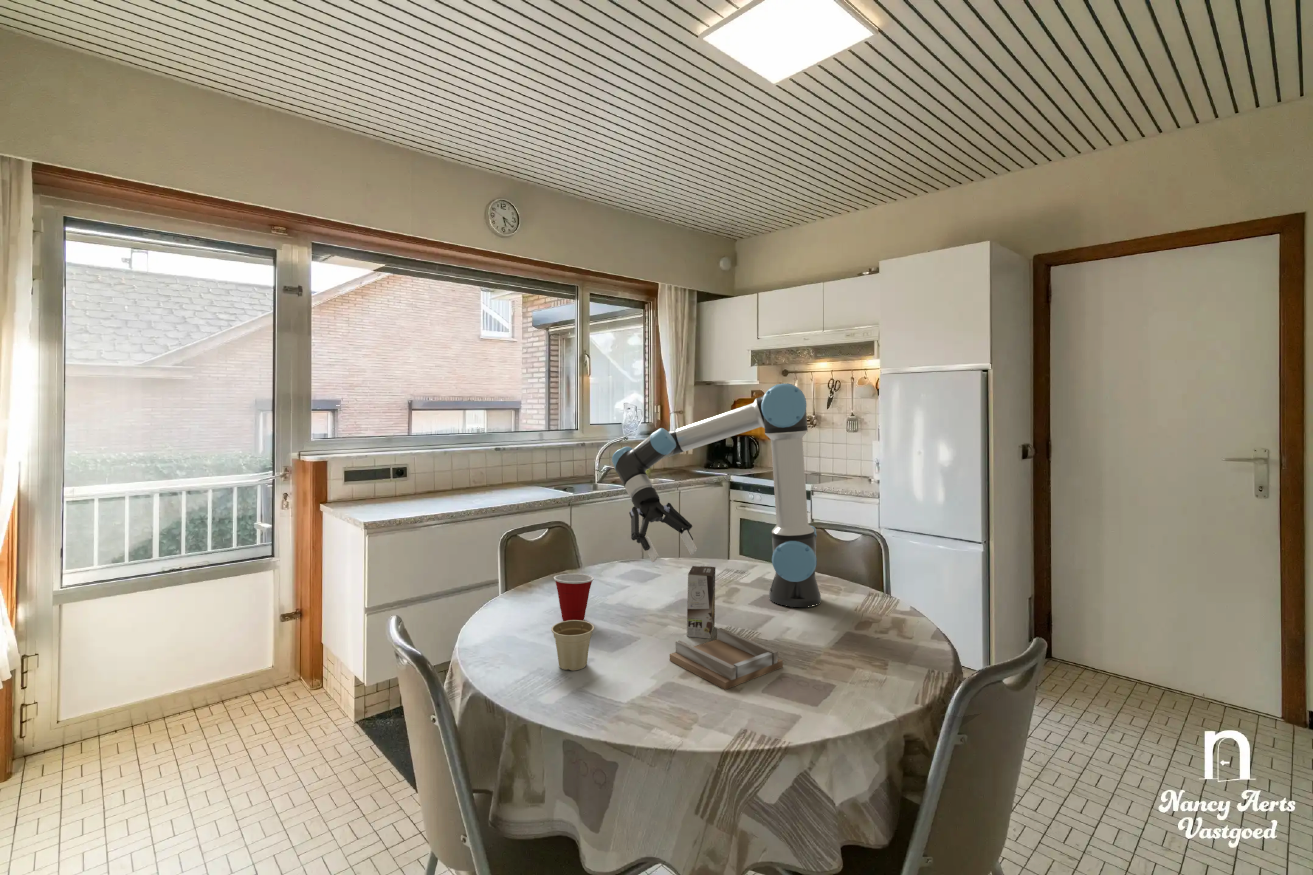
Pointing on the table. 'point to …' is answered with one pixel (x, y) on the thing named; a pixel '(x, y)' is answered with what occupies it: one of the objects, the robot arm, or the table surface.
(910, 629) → the table surface
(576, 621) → the flower pot
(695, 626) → the coffee box
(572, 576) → the plastic cup
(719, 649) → the rail holder
